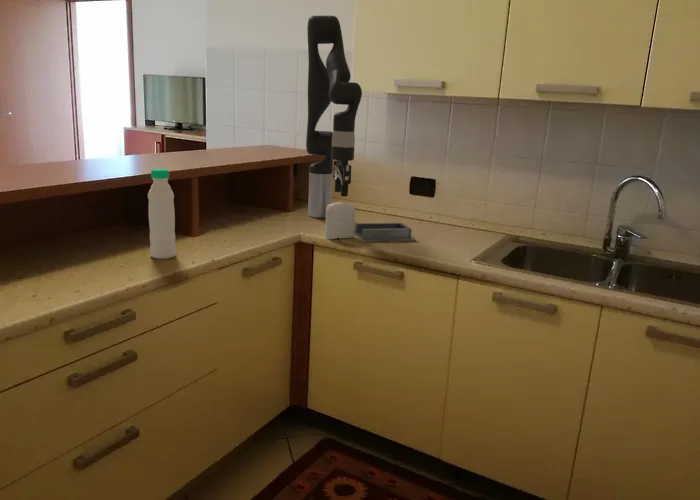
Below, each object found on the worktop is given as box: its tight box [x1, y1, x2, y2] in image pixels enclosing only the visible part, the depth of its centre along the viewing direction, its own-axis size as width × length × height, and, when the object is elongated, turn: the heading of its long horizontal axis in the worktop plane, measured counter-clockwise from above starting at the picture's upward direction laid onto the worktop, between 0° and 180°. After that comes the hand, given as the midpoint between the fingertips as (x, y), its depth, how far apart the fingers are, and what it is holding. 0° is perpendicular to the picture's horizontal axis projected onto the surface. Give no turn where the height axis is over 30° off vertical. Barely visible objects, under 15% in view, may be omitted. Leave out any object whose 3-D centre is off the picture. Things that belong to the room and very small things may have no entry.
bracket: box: [354, 222, 416, 243], centre depth 203 cm, size 14×18×4 cm
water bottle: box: [147, 168, 177, 260], centre depth 165 cm, size 7×7×25 cm
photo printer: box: [324, 201, 356, 240], centre depth 198 cm, size 10×4×12 cm, turn 114°
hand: (341, 194), depth 195 cm, fingers open, 8 cm apart
